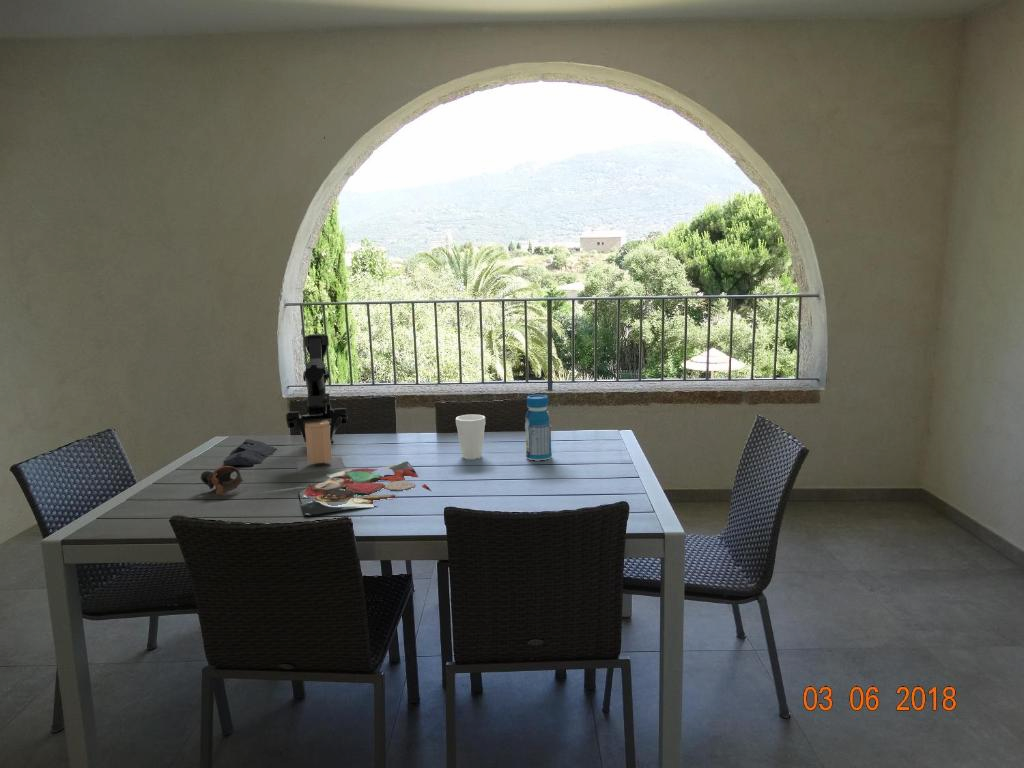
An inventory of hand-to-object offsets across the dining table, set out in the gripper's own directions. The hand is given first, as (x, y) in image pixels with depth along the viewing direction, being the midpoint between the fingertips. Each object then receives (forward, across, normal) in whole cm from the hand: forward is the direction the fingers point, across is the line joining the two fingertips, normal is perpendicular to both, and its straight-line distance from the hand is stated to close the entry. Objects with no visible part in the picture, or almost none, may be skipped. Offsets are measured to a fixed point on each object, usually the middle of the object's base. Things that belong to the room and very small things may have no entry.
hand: (318, 440), depth 230 cm
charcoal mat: (+5, 0, +7) cm, 9 cm away
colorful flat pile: (+25, +12, -12) cm, 31 cm away
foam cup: (+9, +48, +4) cm, 49 cm away
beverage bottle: (+15, +68, -2) cm, 70 cm away
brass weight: (+5, 0, +7) cm, 8 cm away
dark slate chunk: (-7, -24, +21) cm, 33 cm away
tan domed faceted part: (+4, 0, +6) cm, 7 cm away
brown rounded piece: (+17, -27, -4) cm, 32 cm away
